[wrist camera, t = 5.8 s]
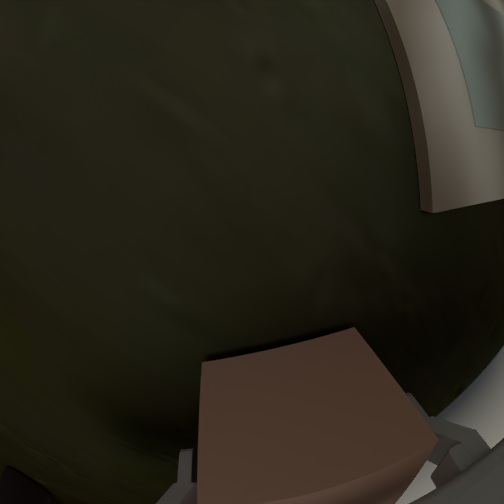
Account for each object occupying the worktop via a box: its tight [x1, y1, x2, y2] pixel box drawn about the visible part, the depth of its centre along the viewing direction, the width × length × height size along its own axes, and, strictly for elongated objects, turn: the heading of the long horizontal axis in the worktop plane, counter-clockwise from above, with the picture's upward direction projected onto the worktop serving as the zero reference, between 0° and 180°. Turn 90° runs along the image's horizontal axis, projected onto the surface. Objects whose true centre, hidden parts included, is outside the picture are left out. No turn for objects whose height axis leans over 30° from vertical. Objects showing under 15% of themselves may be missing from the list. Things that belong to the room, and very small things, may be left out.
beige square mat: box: [374, 0, 504, 213], centre depth 7 cm, size 16×16×1 cm
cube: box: [197, 327, 439, 504], centre depth 8 cm, size 6×6×6 cm
